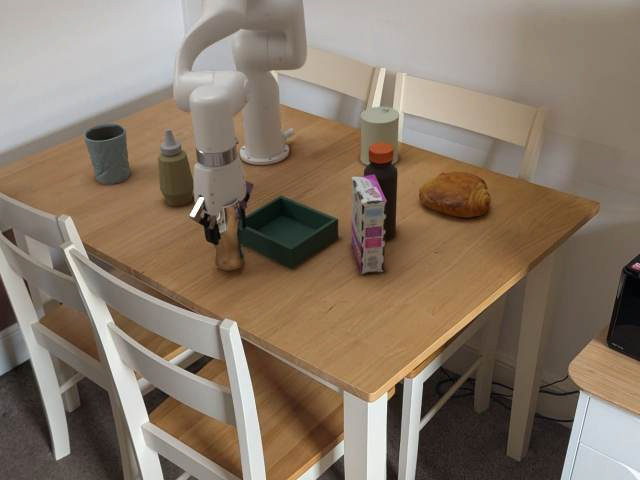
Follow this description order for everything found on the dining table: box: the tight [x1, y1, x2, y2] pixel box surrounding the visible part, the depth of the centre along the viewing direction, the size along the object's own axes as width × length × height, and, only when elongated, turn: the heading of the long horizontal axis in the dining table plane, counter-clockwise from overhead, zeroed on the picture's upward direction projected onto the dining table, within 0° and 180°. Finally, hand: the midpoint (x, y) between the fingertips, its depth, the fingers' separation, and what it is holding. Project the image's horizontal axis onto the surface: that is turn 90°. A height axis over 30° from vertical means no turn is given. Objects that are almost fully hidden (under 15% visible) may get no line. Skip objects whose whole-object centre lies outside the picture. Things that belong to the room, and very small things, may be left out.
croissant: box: [418, 170, 491, 219], centre depth 176 cm, size 14×16×8 cm
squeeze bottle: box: [157, 128, 194, 207], centre depth 183 cm, size 8×8×18 cm
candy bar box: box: [350, 175, 387, 275], centre depth 159 cm, size 11×5×16 cm, turn 5°
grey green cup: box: [83, 123, 131, 185], centre depth 198 cm, size 10×10×12 cm
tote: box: [241, 195, 340, 270], centre depth 170 cm, size 15×17×5 cm
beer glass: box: [207, 197, 246, 272], centre depth 160 cm, size 7×7×15 cm
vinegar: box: [363, 143, 399, 241], centre depth 165 cm, size 7×7×20 cm
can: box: [359, 106, 400, 166], centre depth 193 cm, size 9×9×12 cm
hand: (226, 233), depth 160 cm, fingers closed on beer glass, 7 cm apart
